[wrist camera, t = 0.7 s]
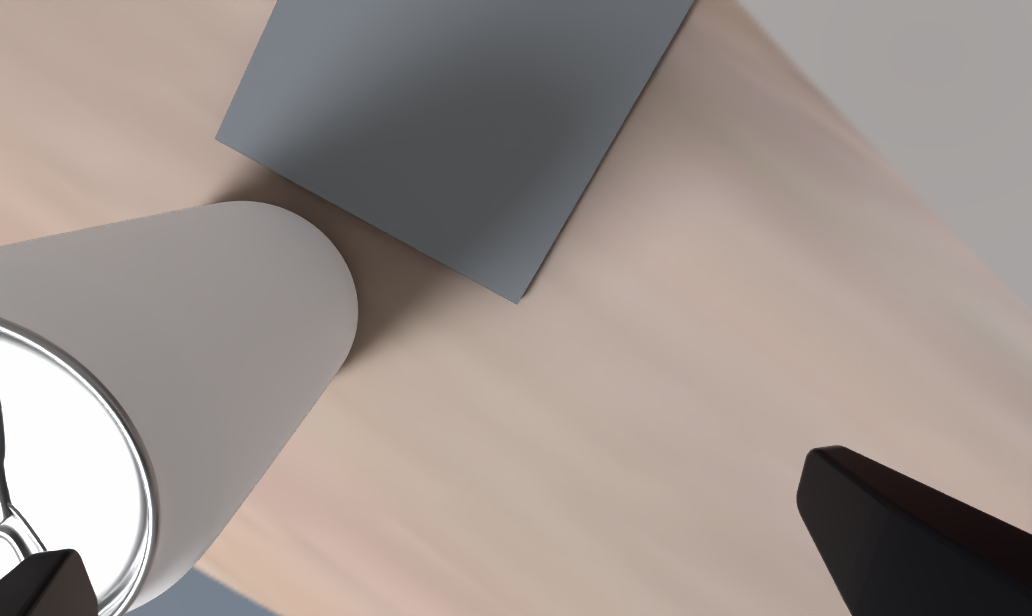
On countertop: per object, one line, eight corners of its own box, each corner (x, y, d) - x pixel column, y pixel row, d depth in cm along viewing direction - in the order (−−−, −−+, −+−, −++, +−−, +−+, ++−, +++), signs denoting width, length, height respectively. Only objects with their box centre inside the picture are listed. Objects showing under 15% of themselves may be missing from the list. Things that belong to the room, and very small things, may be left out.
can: (171, 406, 22) (-215, 711, 10) (133, 204, 20) (-373, 284, 8) (372, 395, 22) (221, 685, 10) (350, 192, 20) (142, 256, 9)
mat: (690, 2, 19) (694, -1, 19) (516, 301, 21) (516, 304, 21) (374, -201, 18) (371, -209, 17) (220, 139, 20) (214, 138, 19)
